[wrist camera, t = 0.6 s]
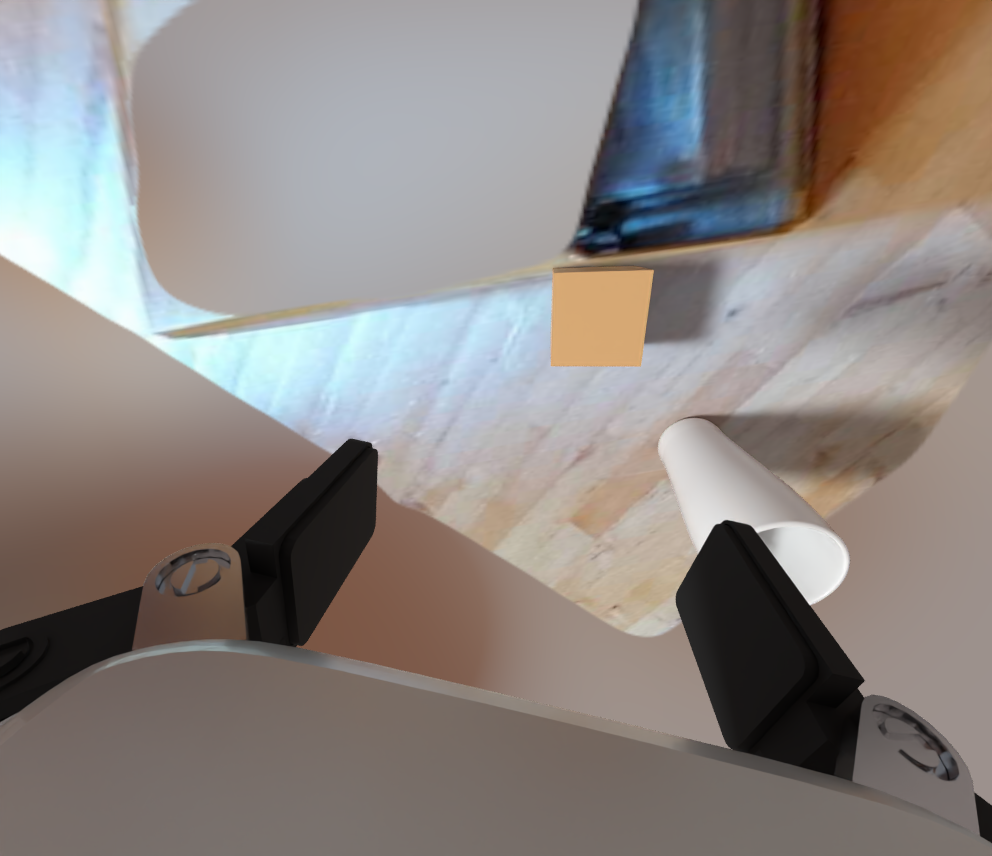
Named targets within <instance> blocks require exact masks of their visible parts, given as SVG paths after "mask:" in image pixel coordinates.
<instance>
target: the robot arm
mask: <svg viewBox="0 0 992 856" xmlns="http://www.w3.org/2000/svg"><path fill="white" fill-rule="evenodd" d="M377 466H378V451H377V450H376V449H373V448H372V444H371V443H370V442H365V441H360V440H356V439H349V440H347V441H346V442H345V443H344V444H343V445H342V446H341V447H340V448H339V449H338V450H337V451H336V452H335V453H333V454H332V455H331V456H330V457H329V458H328V459H327V460H326V461H325V462H324V463H323V464H322V465H321V466H320V467H319V468H318V469H317V470H316V471H315V472H314V473H313V474H311V475H310V476H309V477H308V478H305V479H303V480H302V481H300V482H299V483H298V484H297V485H296V486H295V487H294V488H293V489H292V490H291V491H290V492H288V494H286V495H285V496H284V497H283V498H282V499H281V500H280V501H279V502H278V503H277V504H276V505H275V506H274V507H273V508H271V509H270V510H269V511H268V512H267V513H266V514H265V515H264V516H263V517H262V518H261V519H260V520H259V521H258V522H257V523H255V525H253V526H252V527H251V528H250V529H249V530H248V531H247V532H246V533H245V534H244V535H243V536H242V537H241V538H239V539H238V540H237V541H236V542H235V543H234V544H233V545H232V546H228V545H224V544H217V543H207V544H200V545H195V546H191V547H188V548H185V549H182V550H180V551H178V552H176V553H174V554H172V555H170V556H168V557H167V558H165V559H164V560H162V561H161V562H160V563H158V564H157V565H156V566H155V567H154V568H153V569H152V570H151V571H150V572H149V574H148V575H147V577H146V580H145V582H144V585H143V586H142V587H139V588H136V589H133V590H129V591H126V592H123V593H119V594H116V595H112V596H110V597H106V598H103V599H99V600H96V601H93V602H90V603H86V604H83V605H80V606H76V607H74V608H70V609H67V610H64V611H60V612H57V613H54V614H50V615H47V616H44V617H41V618H37V619H34V620H31V621H27V622H24V623H21V624H18V625H15V626H11V627H8V628H5V629H2V630H0V856H992V805H990V804H989V803H987V802H986V801H985V800H984V799H982V798H981V797H980V796H978V795H977V794H976V793H974V788H973V781H972V778H971V775H970V772H969V770H968V767H967V766H966V764H965V762H964V761H963V759H962V758H961V756H960V755H959V753H958V752H957V751H956V750H955V749H954V748H953V746H952V745H951V744H950V743H949V742H948V740H947V739H946V738H945V737H944V736H943V735H942V734H941V733H939V732H938V731H937V730H936V729H935V728H934V727H933V726H932V725H931V724H930V723H929V722H927V721H926V720H925V719H923V718H922V717H921V716H919V715H918V714H917V713H915V712H914V711H912V710H911V709H909V708H907V707H905V706H904V705H902V704H900V703H898V702H896V701H894V700H891V699H889V698H887V697H884V696H878V695H870V696H867V697H865V698H864V697H863V695H862V694H861V693H860V691H859V690H858V687H859V686H860V685H861V684H862V683H863V682H864V679H863V677H862V676H861V675H860V673H859V672H858V670H857V669H856V668H855V667H854V665H853V664H852V662H851V661H850V660H849V658H848V657H847V655H846V654H845V653H844V651H843V650H842V649H841V647H840V646H839V644H838V643H837V642H836V640H835V639H834V638H833V636H832V635H831V634H830V632H829V631H828V629H827V628H826V627H825V625H824V624H823V623H822V621H821V620H820V618H819V617H818V616H817V614H816V613H815V612H814V610H813V609H812V608H811V606H810V605H809V603H808V602H807V601H806V599H805V598H804V597H803V595H802V594H801V592H800V591H799V590H798V588H797V587H796V586H795V584H794V583H793V582H792V580H791V579H790V577H789V576H788V575H787V573H786V572H785V571H784V569H783V568H782V566H781V565H780V564H779V562H778V561H777V560H776V558H775V557H774V556H773V554H772V553H771V551H770V550H769V549H768V547H767V546H766V545H765V543H764V542H763V540H762V539H761V538H760V536H759V535H758V534H757V532H756V531H755V530H754V528H753V527H752V526H751V525H748V524H744V523H739V522H735V521H730V520H724V521H723V522H721V524H716V525H715V526H714V527H713V528H712V530H711V532H710V534H709V536H708V537H707V539H706V541H705V543H704V544H703V546H702V548H701V550H700V552H699V553H698V555H697V557H696V559H695V561H694V562H693V564H692V566H691V568H690V569H689V571H688V573H687V575H686V577H685V578H684V580H683V582H682V584H681V585H680V587H679V589H678V591H677V593H676V605H677V609H678V611H679V614H680V617H681V620H682V623H683V625H684V628H685V631H686V633H687V637H688V639H689V642H690V645H691V647H692V651H693V653H694V656H695V659H696V662H697V665H698V667H699V670H700V673H701V675H702V678H703V681H704V684H705V687H706V690H707V692H708V695H709V698H710V701H711V704H712V706H713V709H714V712H715V715H716V718H717V721H718V723H719V726H720V729H721V732H722V735H723V737H724V740H725V742H726V744H727V745H728V747H730V748H731V749H733V750H731V749H727V748H723V747H719V746H715V745H711V744H707V743H702V742H699V741H694V740H691V739H686V738H683V737H679V736H674V735H670V734H666V733H662V732H658V731H654V730H650V729H646V728H642V727H638V726H633V725H630V724H625V723H621V722H617V721H613V720H609V719H605V718H601V717H596V716H592V715H588V714H584V713H580V712H575V711H571V710H567V709H563V708H559V707H554V706H551V705H546V704H542V703H538V702H533V701H530V700H525V699H521V698H517V697H512V696H509V695H504V694H500V693H496V692H492V691H488V690H483V689H479V688H475V687H470V686H466V685H462V684H458V683H453V682H449V681H445V680H441V679H436V678H432V677H427V676H423V675H419V674H415V673H411V672H406V671H402V670H397V669H393V668H389V667H385V666H380V665H376V664H372V663H367V662H363V661H358V660H353V659H349V658H344V657H339V656H335V655H330V654H325V653H321V652H315V651H311V650H307V649H302V648H297V647H296V646H297V645H299V646H303V645H304V644H305V643H306V642H307V641H308V639H309V638H310V636H311V634H312V633H313V631H314V630H315V628H316V626H317V624H318V623H319V621H320V620H321V618H322V617H323V615H324V613H325V612H326V610H327V608H328V607H329V605H330V603H331V602H332V600H333V599H334V597H335V595H336V594H337V592H338V590H339V589H340V587H341V585H342V584H343V582H344V581H345V579H346V577H347V576H348V574H349V573H350V571H351V569H352V568H353V566H354V564H355V563H356V561H357V559H358V558H359V556H360V555H361V553H362V551H363V549H364V548H365V547H366V545H367V543H368V542H369V540H370V538H371V537H372V535H373V532H374V529H375V523H376V497H377Z"/></svg>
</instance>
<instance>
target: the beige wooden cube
mask: <svg viewBox="0 0 992 856" xmlns="http://www.w3.org/2000/svg"><path fill="white" fill-rule="evenodd" d="M653 273H654V270H652V269H647V268H642V267H637V266H612V267H579V268H553V278H552V313H551V366H641V361H642V354H643V347H644V339H645V332H646V325H647V317H648V310H649V302H650V295H651V288H652V280H653Z"/></svg>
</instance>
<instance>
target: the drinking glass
mask: <svg viewBox="0 0 992 856" xmlns="http://www.w3.org/2000/svg"><path fill="white" fill-rule="evenodd" d="M658 453H659V457H660V459H661V461H662V463H663V465H664V467H665V469H666V472H667V475H668V478H669V480H670V483H671V486H672V489H673V492H674V494H675V497H676V500H677V503H678V506H679V509H680V512H681V515H682V517H683V520H684V523H685V526H686V529H687V531H688V534H689V536H690V539H691V541H692V543H693V546H694V548H695V550H696V552H697V554H698V553H699V552H700V550H701V548H702V546H703V544H704V543H705V541H706V539H707V537H708V536H709V534H710V532H711V530H712V528H713V527H714V526H715V525H716V524H721V522H723V521H724V520H730V521H735V522H739V523H744V524H748V525H751V526H752V527H753V528H754V530H755V531H756V532H757V534H758V535H759V536H760V538H761V539H762V540H763V542H764V543H765V545H766V546H767V547H768V549H769V550H770V551H771V553H772V554H773V556H774V557H775V558H776V560H777V561H778V562H779V564H780V565H781V566H782V568H783V569H784V571H785V572H786V573H787V575H788V576H789V577H790V579H791V580H792V582H793V583H794V584H795V586H796V587H797V588H798V590H799V591H800V592H801V594H802V595H803V597H804V598H805V599H806V601H807V602H808V603H809V605H812V604H814V603H816V602H818V601H820V600H822V599H824V598H825V597H827V596H828V595H830V594H831V593H832V592H833V591H834V590H835V589H836V588H837V587H838V586H839V585H840V584H841V583H842V582H843V580H844V579H845V577H846V575H847V573H848V570H849V566H850V555H849V551H848V548H847V546H846V544H845V543H844V541H843V540H842V539H841V538H840V536H838V535H837V533H836V532H835V531H834V530H833V529H832V528H831V527H830V526H829V524H828V523H827V522H826V521H825V520H824V519H823V518H822V517H821V516H820V515H819V514H818V512H817V511H816V510H815V509H814V508H813V507H812V506H811V505H810V504H809V503H808V502H806V501H805V500H804V499H803V498H802V497H801V496H800V495H799V494H798V493H797V492H796V491H795V490H793V489H792V488H791V487H790V486H789V485H788V484H786V483H785V482H784V481H783V480H781V479H780V478H779V477H778V476H776V475H775V474H774V473H773V472H771V471H770V470H769V469H767V468H766V467H765V466H764V465H762V464H761V463H760V462H759V461H757V460H756V459H755V458H753V457H752V456H751V455H750V454H748V453H747V452H746V451H745V450H743V449H742V448H741V447H740V446H738V445H737V444H736V443H735V442H733V441H732V440H731V439H730V438H728V437H727V436H726V435H725V434H724V433H723V432H722V431H721V430H720V429H719V428H718V427H717V426H716V425H714V424H713V423H711V422H710V421H707V420H705V419H701V418H687V419H683V420H680V421H677V422H675V423H674V424H672V425H671V426H669V427H668V428H667V429H666V430H665V431H664V432H663V434H662V435H661V437H660V440H659V443H658Z"/></svg>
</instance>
